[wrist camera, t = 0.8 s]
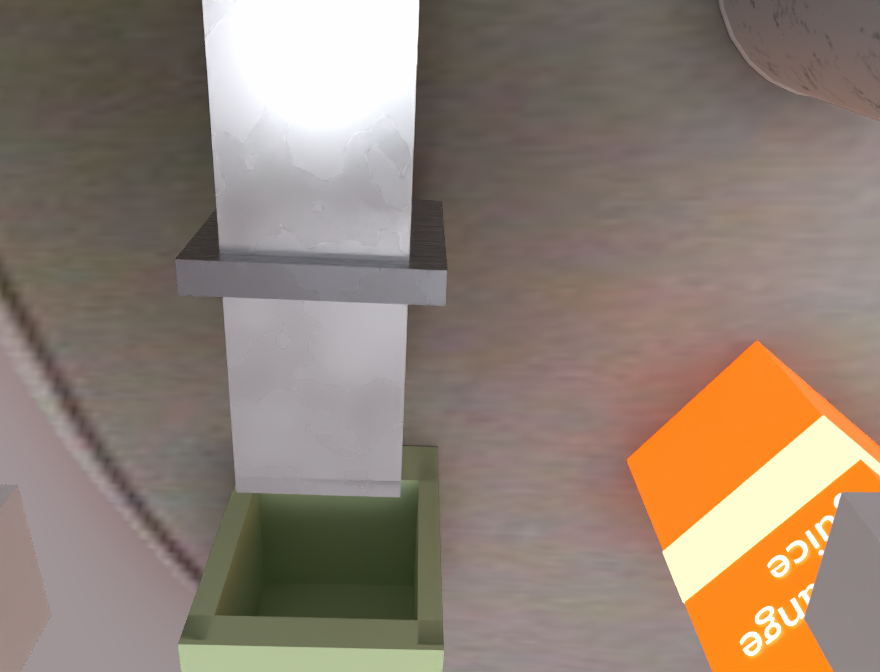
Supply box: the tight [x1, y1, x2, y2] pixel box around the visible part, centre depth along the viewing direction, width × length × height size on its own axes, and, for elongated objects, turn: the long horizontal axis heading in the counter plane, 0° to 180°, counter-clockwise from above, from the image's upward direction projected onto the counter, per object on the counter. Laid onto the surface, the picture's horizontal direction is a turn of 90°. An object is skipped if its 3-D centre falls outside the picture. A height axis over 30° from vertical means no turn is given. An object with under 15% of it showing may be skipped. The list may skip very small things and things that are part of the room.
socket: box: [178, 446, 444, 672], centre depth 31 cm, size 7×8×11 cm
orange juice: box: [627, 341, 880, 672], centre depth 26 cm, size 8×9×20 cm
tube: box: [175, 0, 447, 497], centre depth 22 cm, size 25×7×7 cm, turn 177°
